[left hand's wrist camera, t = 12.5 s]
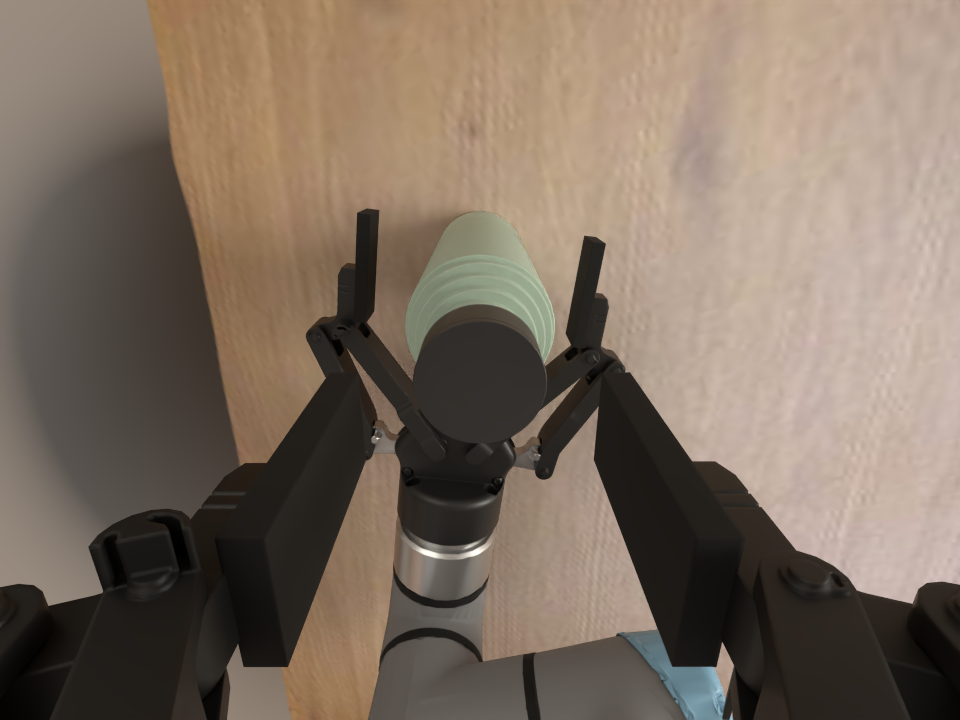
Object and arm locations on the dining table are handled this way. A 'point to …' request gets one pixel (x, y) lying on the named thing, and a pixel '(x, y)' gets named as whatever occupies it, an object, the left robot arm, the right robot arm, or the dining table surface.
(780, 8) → the dining table surface
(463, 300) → the bottle
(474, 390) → the cap
